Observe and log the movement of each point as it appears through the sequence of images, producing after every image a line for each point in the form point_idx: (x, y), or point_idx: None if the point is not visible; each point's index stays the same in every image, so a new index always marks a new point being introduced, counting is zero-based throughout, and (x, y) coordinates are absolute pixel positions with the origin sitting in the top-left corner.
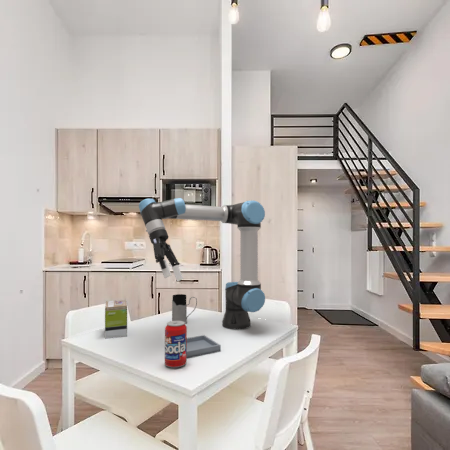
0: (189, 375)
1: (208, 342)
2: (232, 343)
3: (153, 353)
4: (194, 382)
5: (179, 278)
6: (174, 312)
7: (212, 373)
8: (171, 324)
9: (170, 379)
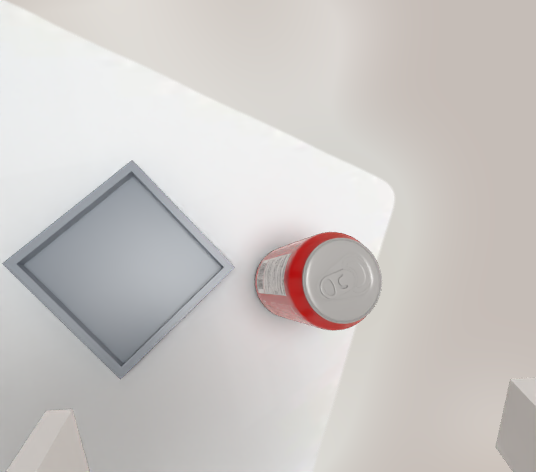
0: (339, 215)
1: (66, 229)
2: (27, 136)
3: (213, 408)
4: (370, 189)
5: (71, 462)
6: None
7: (312, 157)
8: (370, 289)
9: None
